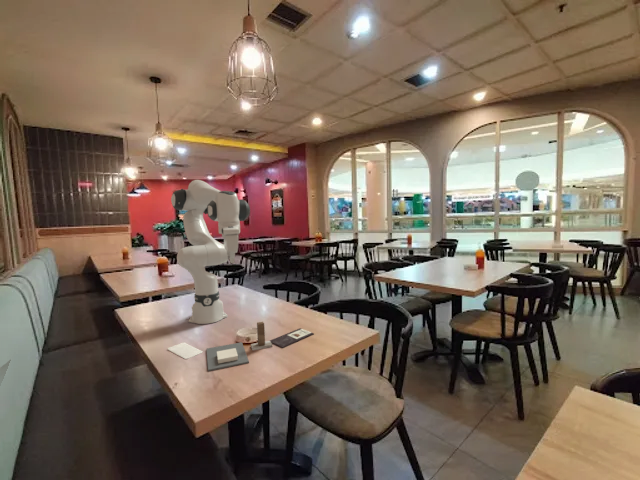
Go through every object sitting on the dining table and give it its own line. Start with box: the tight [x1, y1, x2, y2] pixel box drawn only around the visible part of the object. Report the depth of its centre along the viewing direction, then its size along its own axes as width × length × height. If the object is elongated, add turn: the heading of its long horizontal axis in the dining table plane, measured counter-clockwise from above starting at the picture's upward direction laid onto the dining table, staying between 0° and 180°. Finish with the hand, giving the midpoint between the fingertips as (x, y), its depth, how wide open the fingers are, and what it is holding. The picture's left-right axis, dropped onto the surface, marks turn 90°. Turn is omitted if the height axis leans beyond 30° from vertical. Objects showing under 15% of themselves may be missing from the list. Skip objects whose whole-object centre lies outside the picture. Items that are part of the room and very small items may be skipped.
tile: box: [217, 348, 238, 364], centre depth 113 cm, size 2×7×7 cm
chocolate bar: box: [269, 327, 315, 349], centre depth 131 cm, size 9×1×18 cm
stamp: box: [250, 321, 273, 351], centre depth 123 cm, size 4×8×10 cm, turn 112°
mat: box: [206, 341, 250, 372], centre depth 116 cm, size 18×14×1 cm
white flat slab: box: [167, 342, 203, 360], centre depth 121 cm, size 7×1×15 cm
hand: (231, 261), depth 130 cm, fingers open, 8 cm apart
